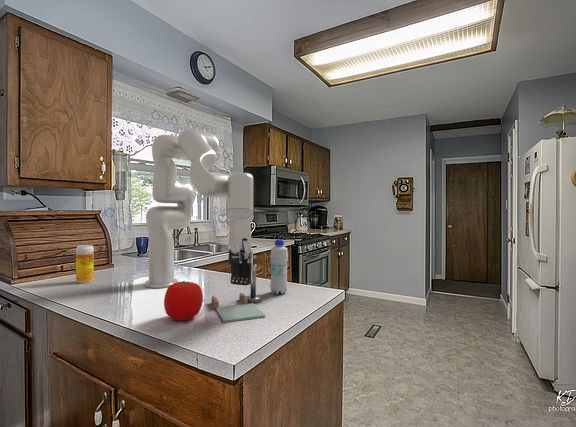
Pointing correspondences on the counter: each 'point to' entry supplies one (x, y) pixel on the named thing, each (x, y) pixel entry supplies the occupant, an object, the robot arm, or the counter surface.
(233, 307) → the mat
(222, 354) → the counter surface
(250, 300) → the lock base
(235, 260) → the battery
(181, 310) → the tomato
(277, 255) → the bottle
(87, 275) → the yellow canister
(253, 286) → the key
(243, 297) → the holder
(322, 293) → the counter surface
